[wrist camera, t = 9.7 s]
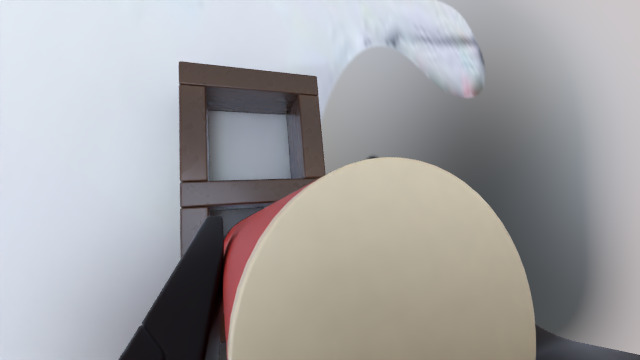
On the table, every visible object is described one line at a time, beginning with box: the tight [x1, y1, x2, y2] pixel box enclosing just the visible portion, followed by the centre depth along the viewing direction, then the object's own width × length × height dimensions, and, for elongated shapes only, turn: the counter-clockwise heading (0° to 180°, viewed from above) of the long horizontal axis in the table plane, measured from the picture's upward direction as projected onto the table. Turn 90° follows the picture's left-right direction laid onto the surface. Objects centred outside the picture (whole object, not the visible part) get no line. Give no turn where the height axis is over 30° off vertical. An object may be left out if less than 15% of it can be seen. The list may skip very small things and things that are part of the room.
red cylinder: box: [223, 157, 536, 360], centre depth 9 cm, size 4×4×12 cm
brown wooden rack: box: [179, 62, 325, 343], centre depth 15 cm, size 19×7×3 cm, turn 4°
